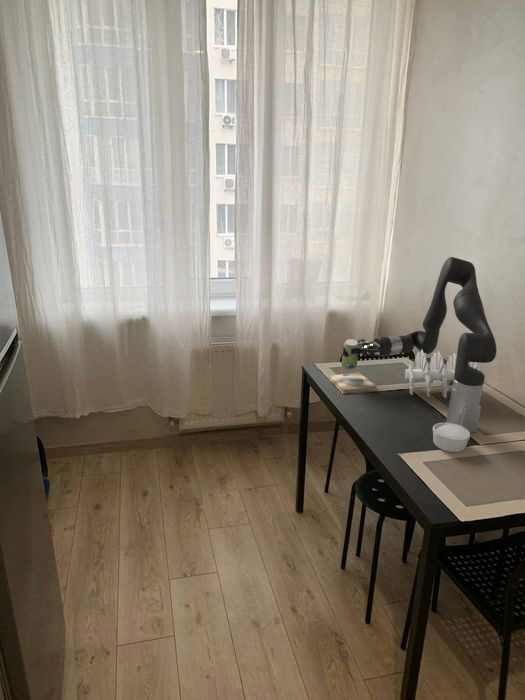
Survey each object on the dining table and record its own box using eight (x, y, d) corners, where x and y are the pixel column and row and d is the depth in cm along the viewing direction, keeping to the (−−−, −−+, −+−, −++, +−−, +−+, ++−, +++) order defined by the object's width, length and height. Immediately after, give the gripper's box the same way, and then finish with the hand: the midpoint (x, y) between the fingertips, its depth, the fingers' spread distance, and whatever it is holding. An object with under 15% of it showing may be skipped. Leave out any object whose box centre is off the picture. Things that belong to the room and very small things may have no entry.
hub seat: (375, 389, 199) (376, 385, 199) (343, 393, 195) (343, 388, 195) (359, 375, 212) (359, 371, 211) (328, 378, 208) (328, 374, 207)
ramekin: (438, 432, 169) (440, 418, 167) (472, 444, 162) (475, 430, 161) (424, 445, 161) (427, 431, 159) (460, 458, 154) (463, 443, 152)
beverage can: (355, 364, 207) (359, 337, 202) (357, 372, 200) (361, 344, 195) (340, 363, 207) (343, 336, 202) (341, 371, 200) (344, 343, 195)
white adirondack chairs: (401, 397, 203) (467, 399, 200) (409, 397, 185) (480, 399, 182) (402, 351, 205) (467, 353, 202) (409, 347, 187) (480, 349, 184)
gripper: (379, 331, 207) (341, 334, 202) (398, 342, 195) (357, 346, 190) (377, 348, 210) (339, 352, 205) (396, 361, 197) (356, 365, 193)
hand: (348, 349), depth 198 cm, fingers closed on beverage can, 3 cm apart
